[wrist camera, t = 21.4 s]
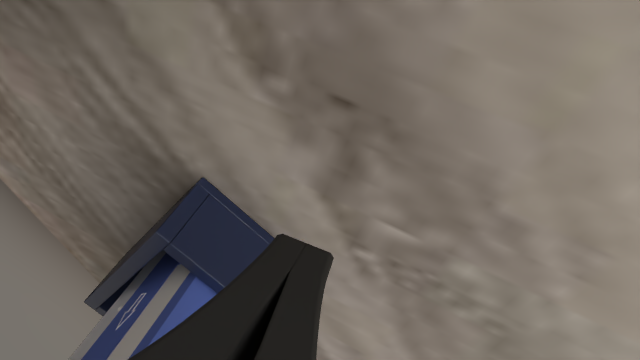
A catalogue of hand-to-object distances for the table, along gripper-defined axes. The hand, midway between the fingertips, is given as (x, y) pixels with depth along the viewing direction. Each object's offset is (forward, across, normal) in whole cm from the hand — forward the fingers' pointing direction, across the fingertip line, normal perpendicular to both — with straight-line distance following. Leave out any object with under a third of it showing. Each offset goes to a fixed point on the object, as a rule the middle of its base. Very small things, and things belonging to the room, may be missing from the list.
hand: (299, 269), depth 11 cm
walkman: (+10, +8, +16) cm, 20 cm away
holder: (+10, +8, +16) cm, 21 cm away
